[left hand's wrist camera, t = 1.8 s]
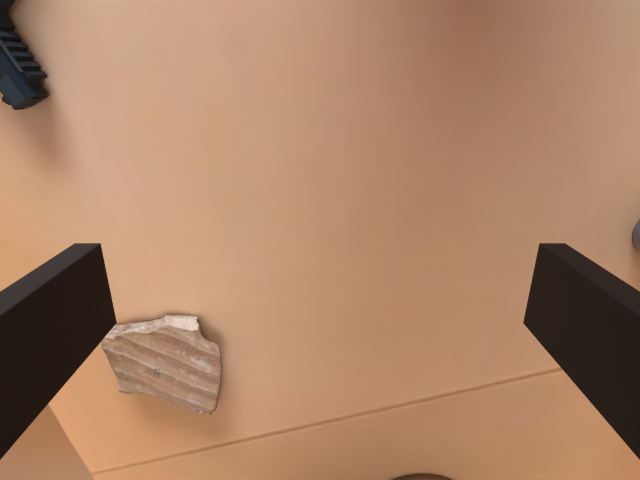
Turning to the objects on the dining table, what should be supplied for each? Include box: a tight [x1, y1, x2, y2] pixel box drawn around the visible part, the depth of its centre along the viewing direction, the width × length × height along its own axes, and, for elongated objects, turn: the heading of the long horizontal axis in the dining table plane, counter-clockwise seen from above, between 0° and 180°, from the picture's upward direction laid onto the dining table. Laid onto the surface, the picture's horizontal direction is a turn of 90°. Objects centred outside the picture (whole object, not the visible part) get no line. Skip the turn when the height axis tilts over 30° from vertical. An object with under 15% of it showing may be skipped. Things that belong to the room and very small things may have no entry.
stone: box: [101, 315, 222, 415], centre depth 46 cm, size 13×12×2 cm
